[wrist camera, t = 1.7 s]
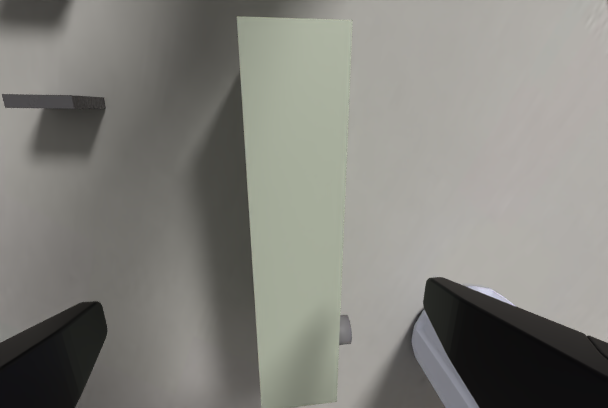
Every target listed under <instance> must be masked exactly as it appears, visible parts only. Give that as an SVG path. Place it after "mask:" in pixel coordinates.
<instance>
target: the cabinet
mask: <svg viewBox="0 0 608 408" xmlns="http://www.w3.org/2000/svg"><path fill="white" fill-rule="evenodd" d="M2 97H3V101H4V104H5V108H65V109H106V108H105V103H104V98H102V97H87V96H71V95H18V94H2Z"/></svg>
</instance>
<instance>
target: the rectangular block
mask: <svg viewBox="0 0 608 408" xmlns="http://www.w3.org/2000/svg"><path fill="white" fill-rule="evenodd" d="M237 29H238V45H239V61H240V76H241V92H242V108H243V124H244V140H245V155H246V171H247V187H248V203H249V219H250V234H251V250H252V266H253V282H254V297H255V313H256V329H257V345H258V361H259V376H260V392H261V408H291V407H299V406H307V405H315V404H323V403H332V402H337V381H338V357H339V345H343V344H351V341H352V331H351V325H350V320H349V318H348V316H347V315H340V309H341V285H342V260H343V236H344V212H345V188H346V164H347V139H348V115H349V91H350V67H351V43H352V20H334V19H303V18H273V17H242V16H237Z"/></svg>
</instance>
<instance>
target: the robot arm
mask: <svg viewBox="0 0 608 408" xmlns="http://www.w3.org/2000/svg"><path fill="white" fill-rule="evenodd" d="M423 305H424V309H425V312H426V314H427V316H428V318H429V320H430V322H431V324H432V326H433V328H434V330H435V332H436V334H437V336H438V338H439V340H440V342H441V344H442V346H443V348H444V350H445V352H446V354H447V356H448V358H449V359H450V361H451V363H452V364H453V366H454V368H455V369H456V371H457V373H458V374H459V376H460V377H461V379H462V381H463V382H464V384H465V385H466V387H467V389H468V390H469V392H470V394H471V395H472V397H473V398H474V400H475V402H476V403H477V405H478V406H479V408H608V343H606V342H604V341H601V340H599V339H596V338H594V337H591V336H586V335H585V334H584V333H581V332H579V331H576V330H574V329H571V328H569V327H566V326H564V325H561V324H559V323H556V322H554V321H551V320H548V319H546V318H543V317H541V316H538V315H536V314H533V313H531V312H528V311H526V310H523V309H521V308H518V307H516V306H513V305H511V304H508V303H506V302H503V301H501V300H498V299H496V298H493V297H491V296H488V295H486V294H483V293H481V292H478V291H476V290H473V289H471V288H468V287H465V286H463V285H460V284H458V283H455V282H453V281H450V280H448V279H445V278H443V277H435V278H429V279H428V280H427V281H426V286H425V293H424V300H423ZM106 336H107V324H106V320H105V316H104V311H103V307H102V305H101V303H100V302H98V301H93V302H82V303H79V304H77V305H75V306H73V307H71V308H69V309H67V310H65V311H63V312H61V313H59V314H57V315H55V316H53V317H51V318H49V319H47V320H45V321H43V322H41V323H39V324H37V325H35V326H33V327H31V328H29V329H27V330H25V331H23V332H21V333H19V334H17V335H15V336H13V337H11V338H9V339H7V340H5V341H3V342H1V343H0V408H75V406H76V404H77V402H78V400H79V398H80V396H81V394H82V392H83V390H84V388H85V386H86V383H87V381H88V379H89V376H90V374H91V372H92V369H93V367H94V364H95V362H96V360H97V357H98V355H99V353H100V350H101V348H102V346H103V343H104V341H105V339H106Z"/></svg>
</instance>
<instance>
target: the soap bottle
mask: <svg viewBox="0 0 608 408" xmlns="http://www.w3.org/2000/svg"><path fill="white" fill-rule="evenodd" d="M468 288H471V289H473V290H476V291H478V292H481V293H483V294H486V295H488V296H491V297H493V298H496V299H498V300H501V301H503V302H506V303H508V304H511V305H513V306H515V305H514V304H512V303H511V302H510V301H509V300H507V299H506V298H505V297H503V296H502V295H500V294H498V293H497V292H495V291H494V290H492V289H489V288H483V287H476V286H468ZM411 341H412V347H413V351H414V355H415V358H416V359H417V361H418V363H419V364H420V366H421V368H422V369H423V371H424V373H425V374H426V376H427V378H428V379H429V381H430V383H431V384H432V386H433V388H434V389H435V391H436V393H437V394H438V396H439V398H440V399H441V401H442V403H443V404H444V406H445V408H479V406H478V405H477V403H476V402H475V400H474V398H473V397H472V395H471V394H470V392H469V390H468V389H467V387H466V385H465V384H464V382H463V381H462V379H461V377H460V376H459V374H458V373H457V371H456V369H455V368H454V366H453V364H452V363H451V361H450V359H449V358H448V356H447V354H446V352H445V350H444V348H443V346H442V344H441V342H440V340H439V338H438V336H437V334H436V332H435V330H434V328H433V326H432V324H431V322H430V320H429V318H428V316H427V314H426V312H425V309H424V310H423V312H422V313H421V315H420V317H419V318H418V320H417V322H416V323H415V325H414V330H413V335H412V340H411Z"/></svg>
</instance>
